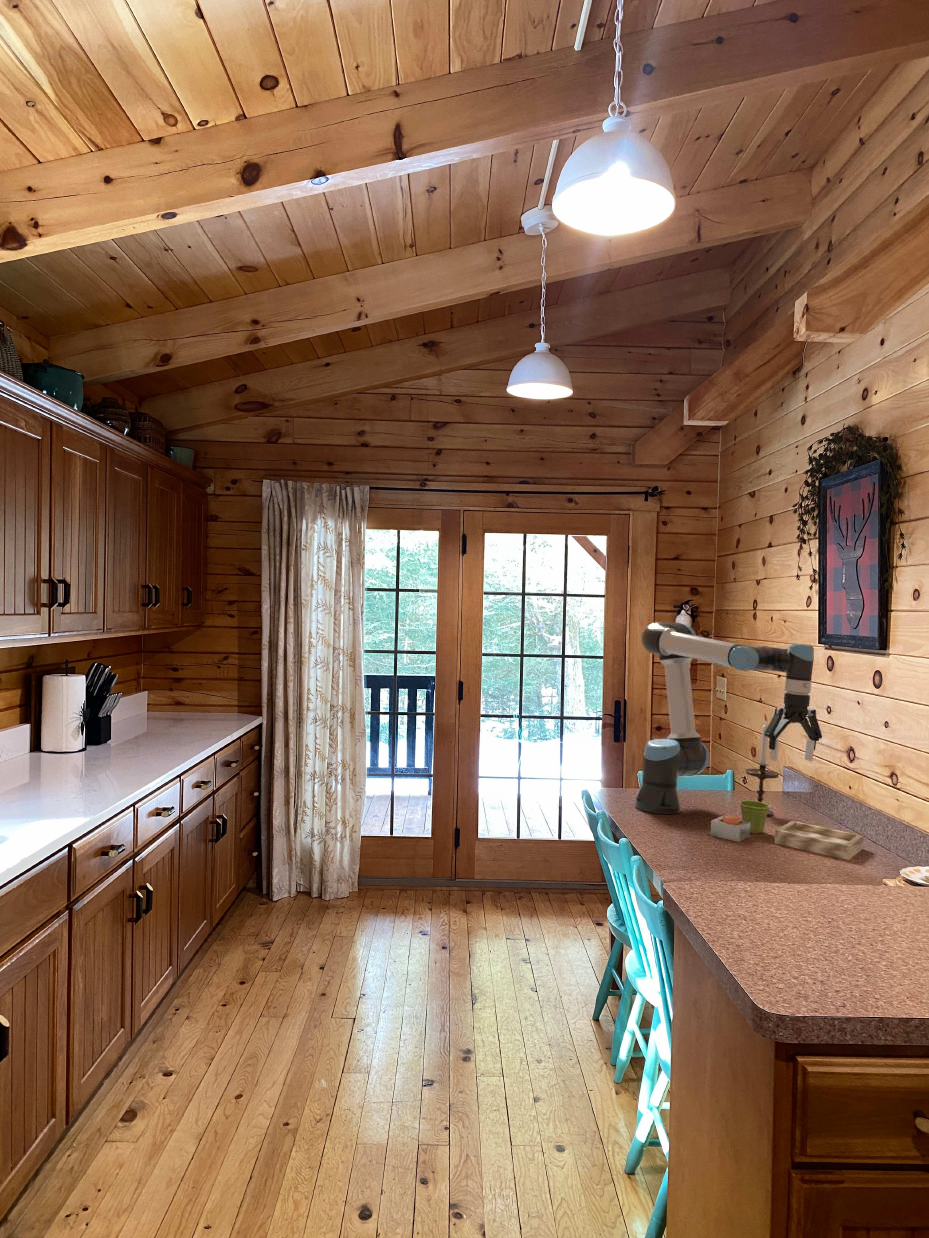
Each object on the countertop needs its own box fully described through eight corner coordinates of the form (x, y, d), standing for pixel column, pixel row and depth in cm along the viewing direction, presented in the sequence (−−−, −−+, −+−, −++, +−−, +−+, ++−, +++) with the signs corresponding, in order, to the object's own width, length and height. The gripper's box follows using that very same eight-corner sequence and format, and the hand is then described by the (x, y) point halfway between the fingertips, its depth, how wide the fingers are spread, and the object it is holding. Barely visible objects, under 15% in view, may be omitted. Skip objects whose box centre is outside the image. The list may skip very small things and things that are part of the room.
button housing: (710, 835, 258) (711, 820, 258) (720, 829, 265) (722, 815, 265) (739, 841, 253) (740, 827, 252) (749, 836, 260) (750, 822, 260)
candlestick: (746, 815, 287) (754, 713, 287) (739, 807, 298) (747, 709, 297) (779, 818, 286) (787, 716, 285) (771, 810, 297) (779, 712, 296)
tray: (774, 843, 254) (775, 829, 254) (791, 833, 267) (792, 820, 267) (848, 860, 241) (849, 846, 241) (862, 848, 255) (863, 835, 255)
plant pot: (770, 836, 261) (772, 809, 261) (739, 833, 263) (741, 805, 263) (766, 829, 270) (768, 802, 270) (735, 825, 272) (737, 799, 272)
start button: (719, 826, 258) (720, 816, 258) (725, 823, 262) (726, 814, 262) (735, 830, 255) (736, 820, 255) (741, 827, 259) (742, 817, 259)
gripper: (772, 693, 256) (765, 762, 257) (838, 696, 264) (831, 763, 265) (756, 690, 263) (750, 757, 264) (821, 692, 271) (815, 758, 272)
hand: (791, 760), depth 264 cm, fingers open, 13 cm apart
